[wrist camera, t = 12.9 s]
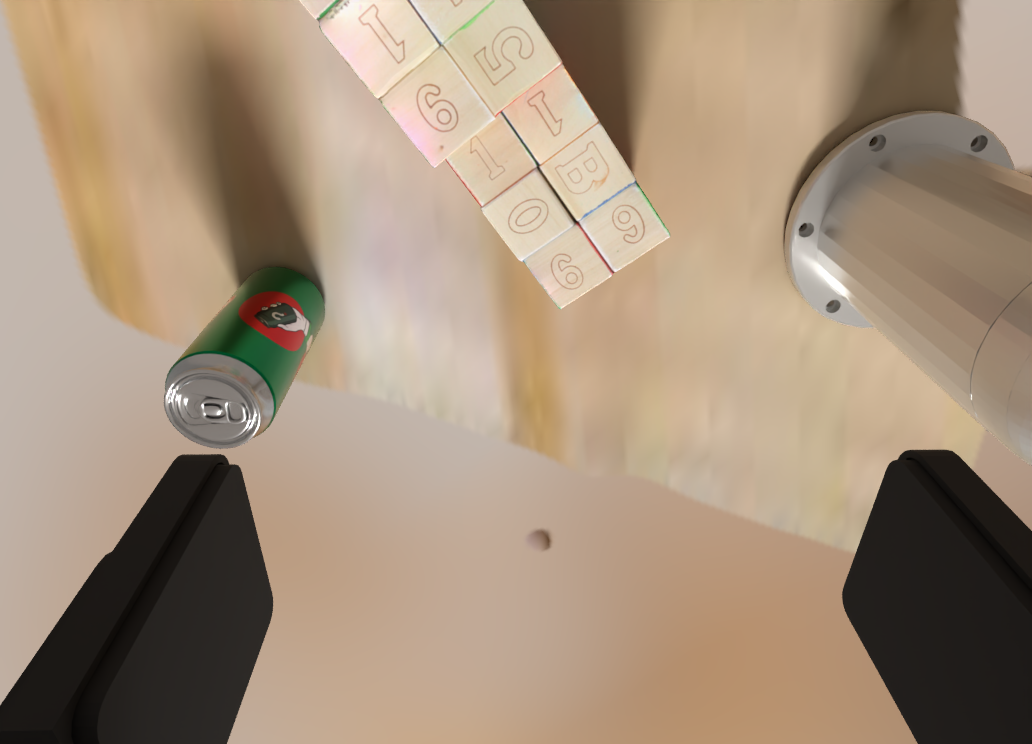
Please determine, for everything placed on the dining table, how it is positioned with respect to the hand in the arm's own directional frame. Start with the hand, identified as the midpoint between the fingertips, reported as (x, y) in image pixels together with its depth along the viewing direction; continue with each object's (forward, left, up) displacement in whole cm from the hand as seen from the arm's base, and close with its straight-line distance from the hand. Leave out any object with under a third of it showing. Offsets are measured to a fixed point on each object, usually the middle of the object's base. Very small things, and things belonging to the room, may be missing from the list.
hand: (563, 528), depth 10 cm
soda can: (+14, +10, -31) cm, 35 cm away
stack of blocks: (+2, -4, -31) cm, 31 cm away
